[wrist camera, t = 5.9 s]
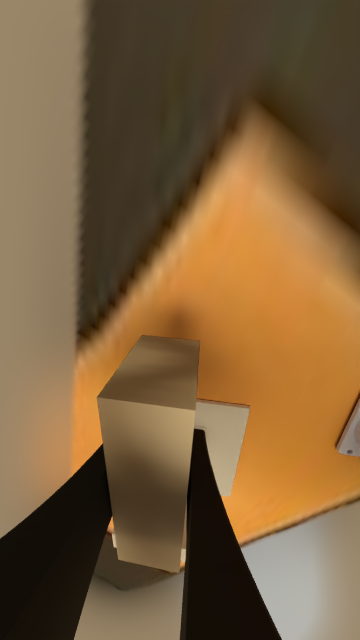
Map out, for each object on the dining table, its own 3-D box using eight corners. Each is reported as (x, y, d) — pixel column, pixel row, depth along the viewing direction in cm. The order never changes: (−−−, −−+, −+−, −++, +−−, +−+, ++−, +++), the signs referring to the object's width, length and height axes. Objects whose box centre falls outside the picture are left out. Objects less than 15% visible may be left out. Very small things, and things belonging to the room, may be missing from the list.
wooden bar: (200, 340, 10) (195, 410, 6) (187, 470, 13) (179, 572, 9) (142, 335, 10) (96, 397, 6) (145, 463, 14) (118, 559, 9)
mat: (249, 405, 19) (250, 408, 19) (229, 492, 24) (230, 496, 24) (113, 388, 21) (111, 391, 20) (121, 474, 26) (120, 477, 25)
